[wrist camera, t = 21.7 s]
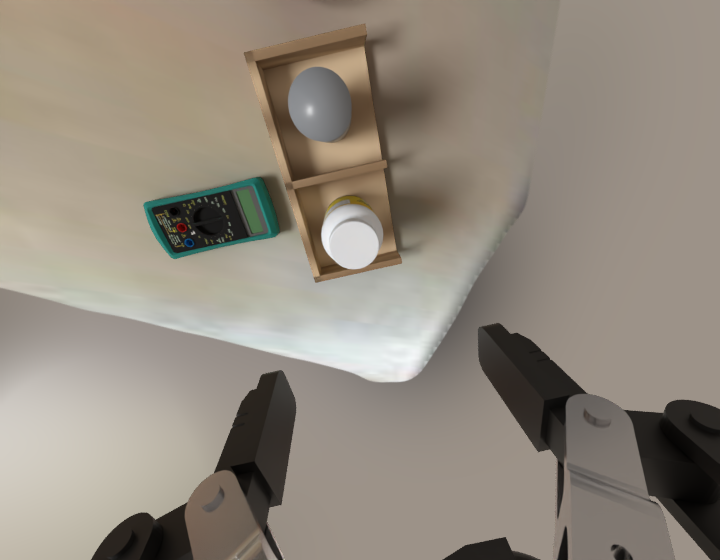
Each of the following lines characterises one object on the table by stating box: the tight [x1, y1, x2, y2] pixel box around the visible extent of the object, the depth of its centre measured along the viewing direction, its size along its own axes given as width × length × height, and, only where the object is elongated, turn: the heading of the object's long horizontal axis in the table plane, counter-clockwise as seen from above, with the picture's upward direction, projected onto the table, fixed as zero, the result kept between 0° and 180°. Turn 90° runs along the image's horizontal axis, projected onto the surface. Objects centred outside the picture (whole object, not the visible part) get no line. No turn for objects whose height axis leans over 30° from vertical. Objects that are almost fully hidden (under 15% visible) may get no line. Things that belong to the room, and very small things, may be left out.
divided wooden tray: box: [244, 24, 402, 283], centre depth 32 cm, size 24×12×4 cm, turn 12°
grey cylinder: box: [288, 67, 352, 143], centre depth 26 cm, size 5×5×10 cm
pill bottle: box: [321, 195, 383, 269], centre depth 30 cm, size 6×6×12 cm
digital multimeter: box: [144, 177, 280, 259], centre depth 34 cm, size 7×15×3 cm, turn 101°
